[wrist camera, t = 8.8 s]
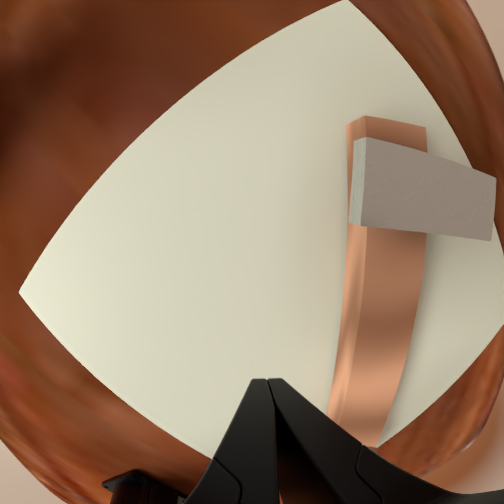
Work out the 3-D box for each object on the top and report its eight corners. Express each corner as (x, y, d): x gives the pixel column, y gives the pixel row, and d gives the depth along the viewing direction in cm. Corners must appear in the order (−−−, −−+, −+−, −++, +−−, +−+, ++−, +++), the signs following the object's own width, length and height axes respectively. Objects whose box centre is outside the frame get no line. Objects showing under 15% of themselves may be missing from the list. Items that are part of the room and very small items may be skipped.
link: (360, 455, 16) (371, 477, 14) (306, 467, 16) (314, 492, 14) (411, 135, 12) (441, 128, 9) (333, 123, 11) (356, 110, 9)
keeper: (433, 226, 14) (490, 241, 10) (317, 213, 14) (360, 225, 9) (437, 176, 14) (496, 178, 9) (321, 152, 13) (365, 136, 8)
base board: (290, 486, 18) (292, 495, 17) (27, 287, 13) (18, 292, 12) (507, 304, 17) (514, 307, 16) (340, 7, 11) (346, -2, 10)
